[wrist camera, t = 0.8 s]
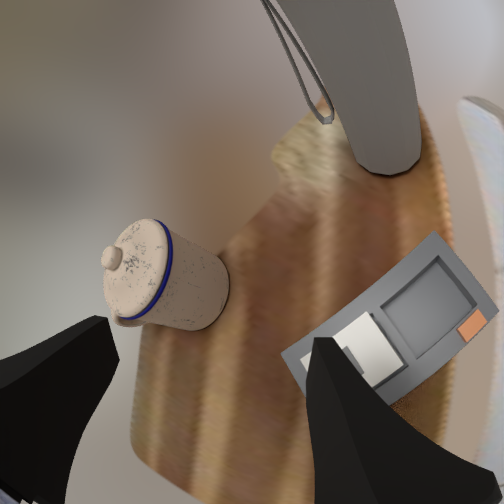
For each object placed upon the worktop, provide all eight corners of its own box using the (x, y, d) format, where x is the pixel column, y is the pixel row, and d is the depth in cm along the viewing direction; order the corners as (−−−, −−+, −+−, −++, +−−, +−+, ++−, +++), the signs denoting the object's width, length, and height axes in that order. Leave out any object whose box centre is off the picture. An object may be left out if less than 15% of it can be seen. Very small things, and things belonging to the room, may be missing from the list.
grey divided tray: (490, 315, 15) (502, 308, 13) (338, 431, 18) (327, 442, 16) (432, 242, 20) (434, 225, 17) (292, 353, 23) (275, 352, 20)
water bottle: (416, 119, 23) (325, -118, 3) (428, 181, 21) (333, -133, 1) (335, 127, 28) (201, -74, 8) (334, 187, 26) (150, -59, 6)
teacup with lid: (209, 235, 32) (129, 185, 23) (248, 295, 27) (154, 255, 17) (145, 301, 34) (64, 274, 25) (170, 363, 29) (75, 351, 19)
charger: (403, 362, 17) (403, 364, 13) (348, 401, 18) (331, 412, 14) (375, 321, 20) (366, 310, 16) (322, 359, 21) (299, 359, 17)
